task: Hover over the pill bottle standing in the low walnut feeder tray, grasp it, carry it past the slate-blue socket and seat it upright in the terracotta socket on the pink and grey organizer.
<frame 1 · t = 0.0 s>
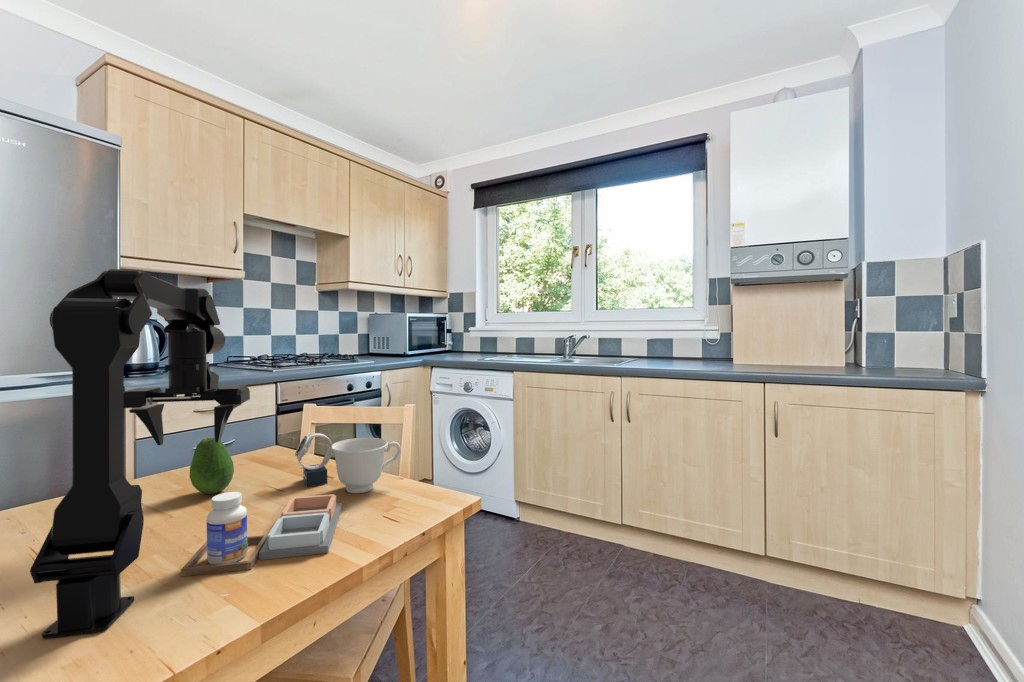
hand: (189, 443, 84), 15 cm above the table, fingers open, 9 cm apart
watch: (314, 482, 107), on the table
pink and grey organizer: (305, 531, 82), on the table
fruit: (212, 494, 100), on the table
pill bottle: (228, 558, 73), resting in feeder tray
teacup: (366, 488, 103), on the table
feeder tray: (228, 557, 73), on the table
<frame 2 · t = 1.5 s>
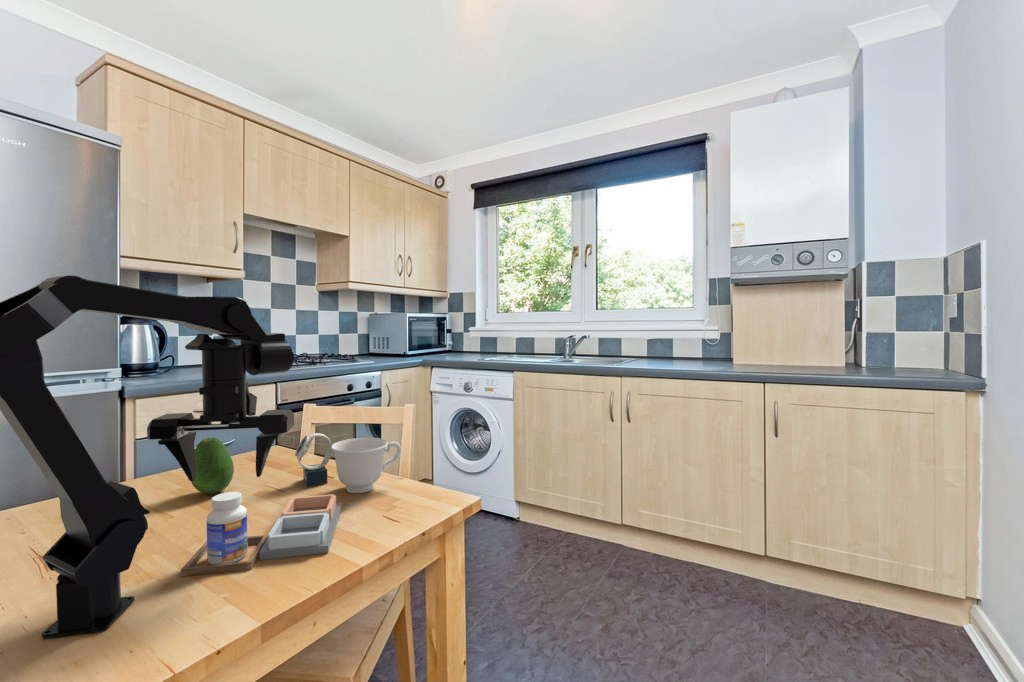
hand: (226, 478, 72), 12 cm above the table, fingers open, 9 cm apart
nothing on the table moved.
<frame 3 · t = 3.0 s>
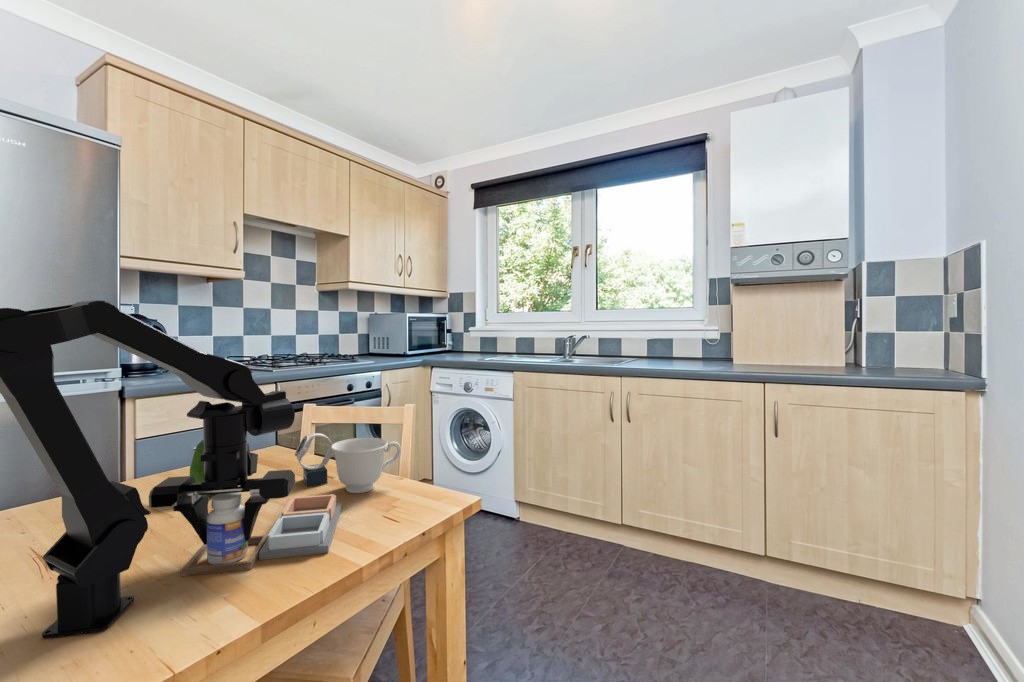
hand: (227, 541, 73), 3 cm above the table, fingers closed on pill bottle, 5 cm apart
pill bottle: (228, 558, 73), resting in feeder tray, touching gripper
everything else where it was.
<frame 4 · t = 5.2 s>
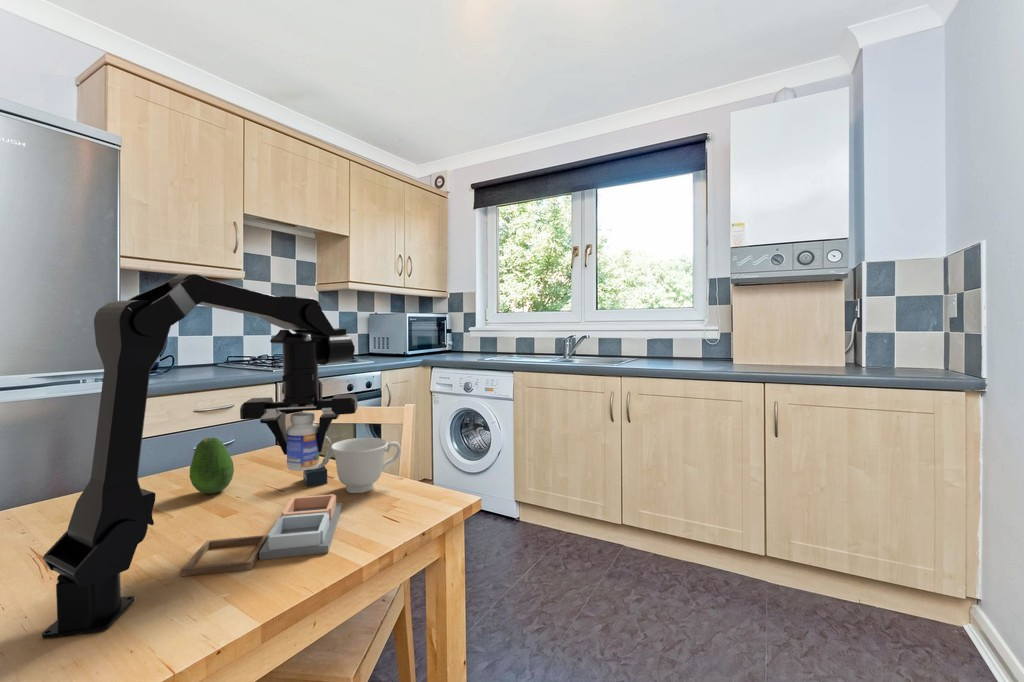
hand: (303, 452, 85), 13 cm above the table, fingers closed on pill bottle, 5 cm apart
pill bottle: (303, 467, 85), point 10 cm above the table, touching gripper
everything else where it was.
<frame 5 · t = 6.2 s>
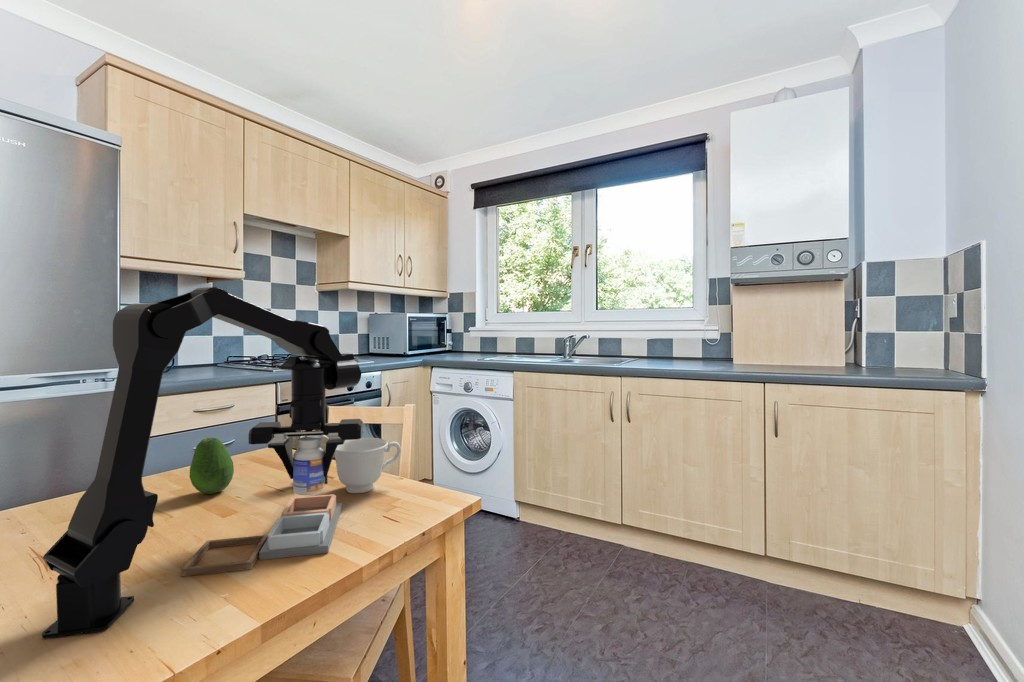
hand: (309, 477, 86), 8 cm above the table, fingers closed on pill bottle, 5 cm apart
pill bottle: (309, 491, 86), point 5 cm above the table, touching gripper
everything else where it was.
when the fingers open (4 cm above the table, at t = 7.3 s): pill bottle stays where it is, resting on pink and grey organizer.
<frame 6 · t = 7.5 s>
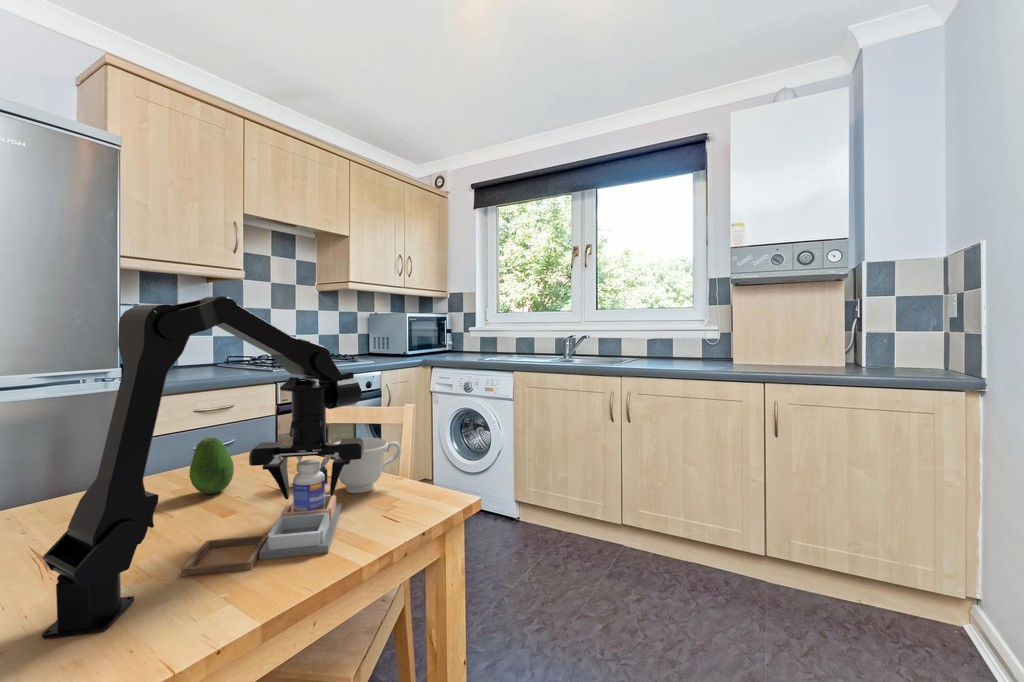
hand: (309, 496, 86), 4 cm above the table, fingers open, 7 cm apart
pill bottle: (309, 515, 86), point 1 cm above the table, touching pink and grey organizer
everything else where it was.
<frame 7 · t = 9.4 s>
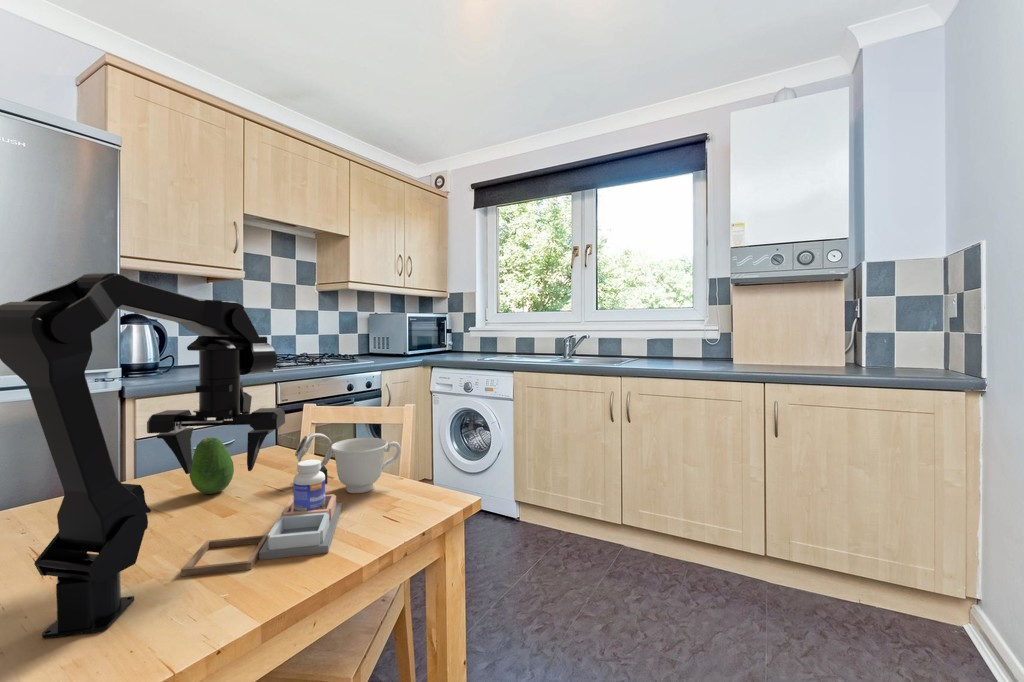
hand: (219, 471, 77), 12 cm above the table, fingers open, 9 cm apart
nothing on the table moved.
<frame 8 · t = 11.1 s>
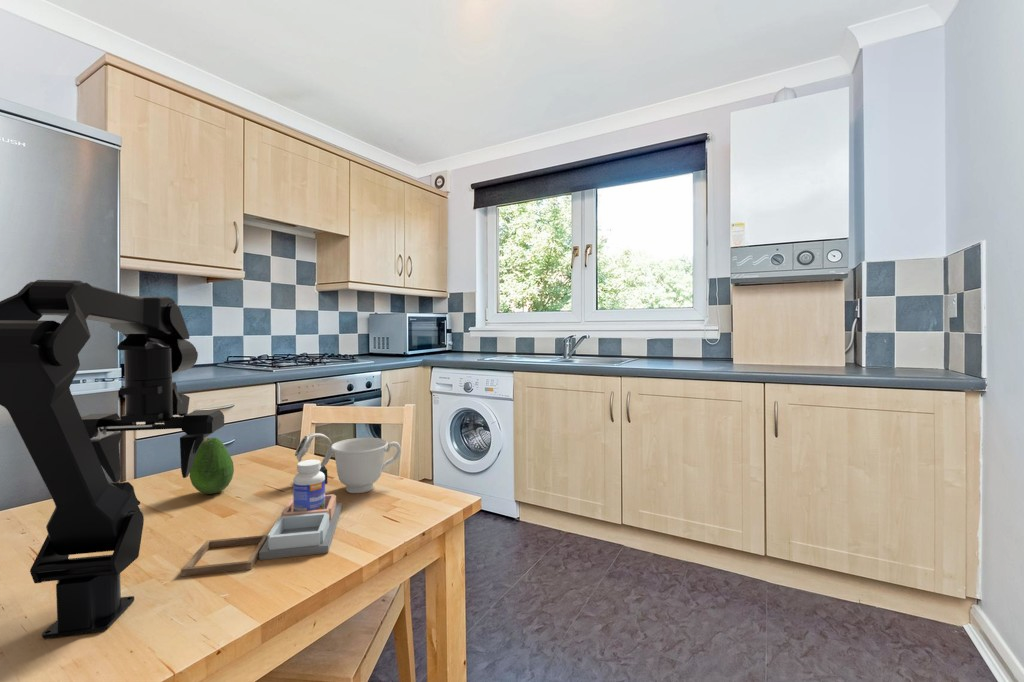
hand: (151, 479, 72), 13 cm above the table, fingers open, 9 cm apart
nothing on the table moved.
at the end: pill bottle 0.1 cm from the target spot on the pink and grey organizer, point 1.0 cm above the pink and grey organizer's base; pill bottle tilted 0°; the gripper is holding nothing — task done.
